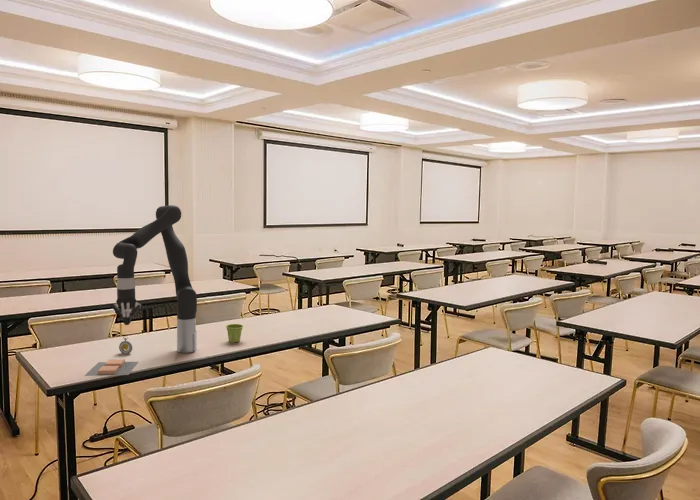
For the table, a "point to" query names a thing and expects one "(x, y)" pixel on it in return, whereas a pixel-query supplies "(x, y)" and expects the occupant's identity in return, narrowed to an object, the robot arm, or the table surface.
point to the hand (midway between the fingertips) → (127, 324)
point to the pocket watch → (125, 346)
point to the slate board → (123, 370)
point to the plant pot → (234, 332)
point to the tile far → (115, 362)
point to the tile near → (108, 369)
